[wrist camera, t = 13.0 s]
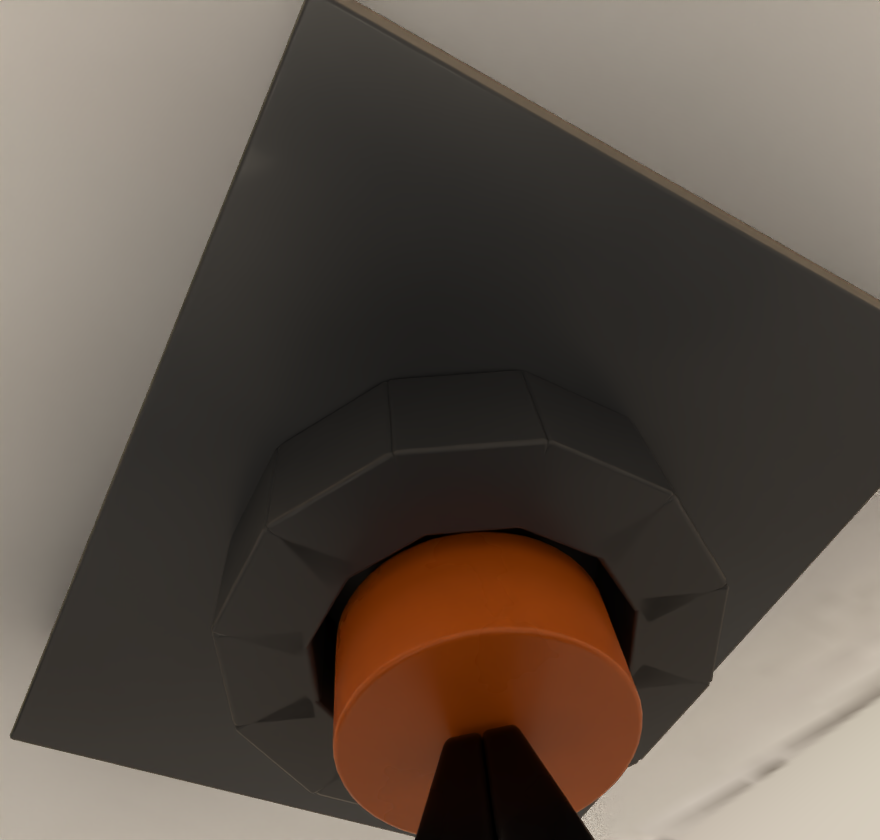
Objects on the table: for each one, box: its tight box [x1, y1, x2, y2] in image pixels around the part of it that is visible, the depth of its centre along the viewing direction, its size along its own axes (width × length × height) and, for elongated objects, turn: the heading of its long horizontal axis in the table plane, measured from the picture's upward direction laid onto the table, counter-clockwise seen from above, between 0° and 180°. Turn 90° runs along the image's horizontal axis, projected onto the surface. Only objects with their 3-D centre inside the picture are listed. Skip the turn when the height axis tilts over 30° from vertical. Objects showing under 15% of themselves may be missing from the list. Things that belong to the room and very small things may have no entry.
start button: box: [333, 531, 643, 834], centre depth 10 cm, size 4×4×2 cm
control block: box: [10, 0, 880, 837], centre depth 12 cm, size 12×10×4 cm
